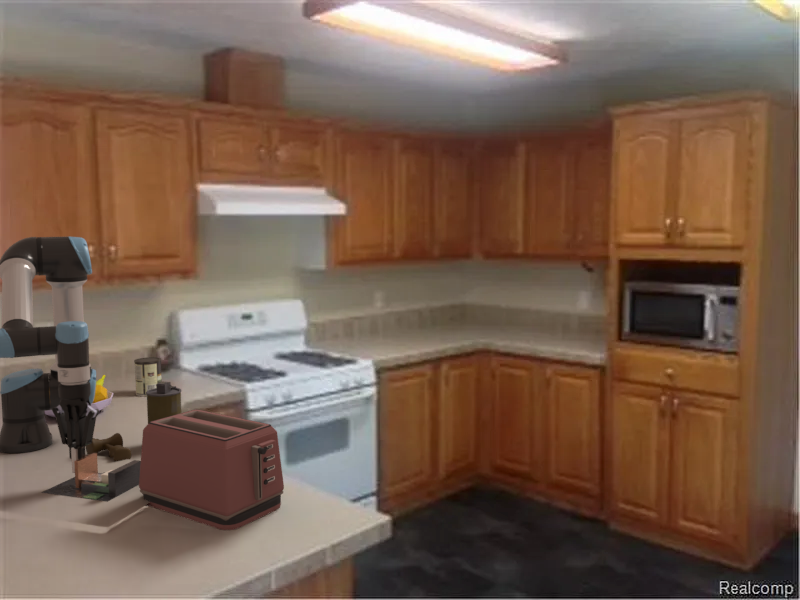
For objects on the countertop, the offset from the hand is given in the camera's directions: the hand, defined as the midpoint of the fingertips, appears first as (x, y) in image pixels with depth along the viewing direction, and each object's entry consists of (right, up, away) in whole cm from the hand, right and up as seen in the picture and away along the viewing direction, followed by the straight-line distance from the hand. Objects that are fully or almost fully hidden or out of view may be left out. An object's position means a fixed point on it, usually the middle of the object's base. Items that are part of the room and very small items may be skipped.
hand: (78, 471), depth 183 cm
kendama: (-3, -2, +26) cm, 27 cm away
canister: (+11, -1, +36) cm, 38 cm away
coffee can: (-19, +6, +104) cm, 106 cm away
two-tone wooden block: (+5, -3, -1) cm, 6 cm away
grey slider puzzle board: (+5, -5, -1) cm, 7 cm away
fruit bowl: (-34, +3, +75) cm, 82 cm away
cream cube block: (+10, -4, -3) cm, 11 cm away
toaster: (+38, -6, -10) cm, 40 cm away
